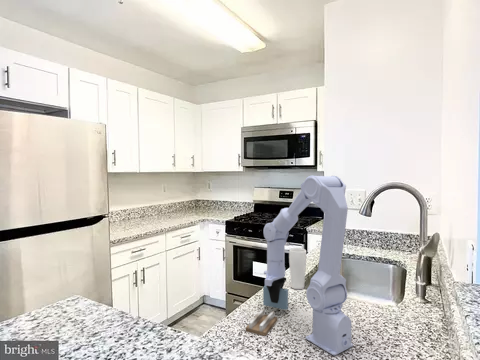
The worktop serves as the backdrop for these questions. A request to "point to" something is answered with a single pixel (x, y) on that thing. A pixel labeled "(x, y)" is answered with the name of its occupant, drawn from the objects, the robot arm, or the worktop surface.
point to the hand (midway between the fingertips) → (275, 301)
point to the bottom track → (262, 323)
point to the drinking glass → (297, 267)
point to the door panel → (281, 302)
